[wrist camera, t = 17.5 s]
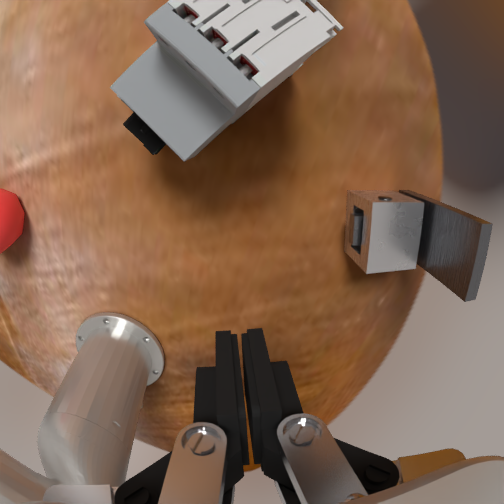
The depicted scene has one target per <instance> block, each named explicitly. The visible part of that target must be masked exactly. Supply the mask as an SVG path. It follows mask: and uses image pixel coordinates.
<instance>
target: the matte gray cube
mask: <svg viewBox="0 0 504 504" xmlns="http://www.w3.org/2000/svg"><path fill="white" fill-rule="evenodd" d="M423 211H424V202H421V201H419V200H416V199H414V198H411V197H409V196H406V195H404V194H401V193H398V192H396V191H380V190H347V209H346V229H345V244H344V251H345V252H346V253H347V254H348V255H349V256H350V257H351V258H352V260H353V261H354V262H355V263H356V264H357V265H358V266H359V267H360V268H361V269H362V270H363V271H364V272H365V273H366V274H369V273H379V272H389V271H399V270H408V269H416V263H417V257H418V250H419V244H420V236H421V229H422V220H423ZM350 213H364V217H363V231H362V243H361V245H352V244H351V243H349V242H348V238H349V223H350Z"/></svg>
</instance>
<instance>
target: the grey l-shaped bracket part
mask: <svg viewBox="0 0 504 504" xmlns="http://www.w3.org/2000/svg"><path fill="white" fill-rule="evenodd" d="M399 193H401V194H404V195H406V196H409V197H411V198H414V199H416V200H419V201H421V202H424V211H423V220H422V229H421V236H420V244H419V250H418V257H417V264H418V265H419V266H420V267H422V268H423V269H424V270H426V271H427V272H428V273H430V274H431V275H432V276H433V277H435V278H436V279H437V280H439V281H440V282H441V283H443V284H444V285H445V286H446V287H447V288H449V289H450V290H451V291H452V292H454V293H455V294H456V295H457V296H458V297H460V298H461V299H462V300H463V301H464V302H466V301H471V300H475V299H476V296H477V292H478V288H479V284H480V281H481V277H482V273H483V269H484V265H485V260H486V256H487V250H488V246H489V240H490V235H491V230H492V223H490V222H488V221H485V220H483V219H481V218H479V217H476V216H474V215H472V214H469V213H467V212H465V211H462V210H460V209H457V208H455V207H452V206H450V205H447V204H445V203H442V202H440V201H437V200H434V199H432V198H429V197H426V196H424V195H421V194H418V193H415V192H413V191H410V190H399ZM363 217H364V213H350V223H349V238H348V242H349V243H351V244H352V245H361V243H362V231H363Z"/></svg>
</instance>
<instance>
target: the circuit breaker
mask: <svg viewBox="0 0 504 504" xmlns="http://www.w3.org/2000/svg"><path fill="white" fill-rule="evenodd" d="M306 1H307V2H308V3H309V4H310V5H311V6H312V7H314V8H315V9H316V11H315V13H313V12H312V11H311V10H310V9H309V8H308V7H307V6H306V5H305V3H306ZM144 23H145V24H146V26H147V27H148V28H149V30H150V31H151V32H152V34H153V35H154V37H155V38H156V39H157V41H156V42H155V43H154V44H153V45H152V46H151V47H150V48H149V49H148V50H147V51H146V52H145V53H143V54H142V55H141V56H140V57H139V58H138V59H137V60H136V61H135V62H134V63H133V64H132V65H131V66H130V67H129V68H128V69H127V70H126V71H125V72H124V73H123V74H122V75H121V76H120V77H119V78H118V79H117V80H116V81H115V82H114V84H113V85H112V86H111V87H110V88H111V89H112V90H113V91H114V92H115V93H116V94H117V96H118V97H119V98H120V99H121V100H122V101H123V102H124V103H125V104H126V105H127V106H128V107H129V108H130V109H131V110H132V111H133V112H134V113H133V114H132V115H131V116H130V117H129V118H128V119H127V120H126V121H125V122H124V123H123V124H124V126H125V127H126V128H127V129H128V130H129V131H130V132H131V133H133V134H134V135H135V136H136V137H137V138H138V139H139V140H140V141H141V142H142V143H143V144H144V146H145V147H146V148H147V149H148V150H149V151H150V152H151V153H152V154H153V155H154V154H157V153H158V152H159V151H160V150H161V149H162V148H163V147H164V146H165V145H166V144H167V145H168V146H169V147H170V148H171V149H172V150H173V151H174V152H175V153H176V154H177V155H178V156H179V157H180V158H181V159H182V160H183V161H186V160H188V159H191V158H193V157H195V156H196V155H197V154H198V153H199V152H200V151H201V150H202V149H203V148H205V147H206V146H207V145H208V144H209V143H210V142H211V141H212V140H213V139H214V138H215V137H216V136H217V135H219V134H220V133H221V132H222V131H223V130H224V129H225V128H226V127H227V126H229V125H230V124H233V123H234V122H235V121H236V120H237V119H239V118H240V117H241V116H242V115H243V114H244V113H245V112H247V111H248V110H249V109H250V108H251V107H253V106H254V105H255V104H256V103H257V102H258V101H260V100H261V99H262V98H263V97H265V96H266V95H267V94H268V93H269V92H271V91H272V90H273V89H274V88H276V87H277V86H278V85H279V84H281V83H282V82H283V81H284V80H285V79H286V78H288V77H290V76H291V75H292V74H293V73H294V72H295V71H296V70H298V69H299V68H300V67H301V66H302V65H303V64H302V63H303V62H304V61H305V60H306V59H308V58H309V57H310V56H311V55H312V54H313V53H314V52H315V51H316V50H318V49H319V48H321V47H322V46H324V45H325V44H326V43H327V42H328V41H329V40H331V39H332V38H333V37H334V36H335V35H336V33H335V32H334V31H333V29H334V27H335V28H336V29H337V30H338V31H340V30H342V29H343V27H342V26H341V25H340V24H339V23H338V22H337V20H336V19H335V18H334V17H333V16H332V15H331V14H330V13H329V12H328V11H327V10H326V9H325V8H324V7H323V6H322V5H321V4H320V3H318V2H317V1H316V0H169V1H168V2H167V3H166V4H164V5H163V6H162V7H160V8H159V9H158V10H157V11H156V12H154V13H153V14H152V15H151V16H149V17H148V18H147V19H146V20H145V21H144Z"/></svg>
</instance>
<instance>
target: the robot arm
mask: <svg viewBox="0 0 504 504" xmlns="http://www.w3.org/2000/svg"><path fill="white" fill-rule="evenodd" d="M241 335H242V353H243V370H244V386H245V396H246V404H247V412H248V420H249V427H250V435H251V442H252V450H253V457H254V464H261V469H262V471H264V475H266V476H268V477H269V478H271V479H273V480H274V481H275V486H276V488H277V491H278V493H279V496H280V498H281V501H282V503H283V504H504V457H501V456H481V457H475V458H469V459H466V458H465V456H464V455H463V453H461V452H460V451H459V450H456V449H453V448H452V449H443V450H439V451H434V452H429V453H423V454H418V455H412V456H406V457H399V458H398V460H394V461H391V460H389V459H387V458H384V457H382V456H378V455H376V454H373V453H371V452H368V451H365V450H363V449H360V448H358V447H355V446H352V445H350V444H348V443H345V442H343V441H340V440H338V439H335V438H333V436H332V435H331V433H330V431H329V430H328V428H327V426H326V425H325V423H324V422H323V421H322V420H321V419H319V418H318V417H316V416H313V415H310V414H303V410H302V407H301V404H300V401H299V398H298V394H297V391H296V388H295V385H294V382H293V378H292V375H291V372H290V369H289V366H288V363H287V361H279V362H270V359H269V355H268V351H267V347H266V342H265V338H264V334H263V330H262V328H258V329H247V333H244V334H241ZM76 347H77V351H78V354H77V356H76V357H75V359H74V361H73V363H72V365H71V366H70V368H69V370H68V372H67V374H66V376H65V377H64V379H63V381H62V383H61V385H60V387H59V389H58V391H57V393H56V395H55V397H54V399H53V401H52V403H51V405H50V407H49V409H48V411H47V413H46V415H45V417H44V419H43V421H42V423H41V425H40V428H39V431H38V450H39V454H40V458H41V462H42V464H43V467H44V470H45V473H46V476H47V478H46V477H44V476H42V475H41V474H39V473H36V472H34V471H33V470H31V469H30V468H28V467H26V466H25V465H23V464H22V463H20V462H19V461H17V460H16V459H14V458H13V457H11V456H10V455H9V454H7V453H6V452H4V451H3V450H1V449H0V504H233V501H234V492H235V484H236V483H237V482H238V481H239V480H240V479H241V478H243V476H244V471H243V465H249V452H248V439H247V425H246V412H245V403H244V395H243V386H242V377H241V368H240V359H239V350H238V341H237V334H231V330H230V331H216V367H197V370H196V384H195V401H194V421H193V424H190V425H188V426H186V427H184V428H183V429H182V430H181V431H180V432H179V433H178V435H177V437H176V441H175V444H174V448H173V451H171V452H170V453H168V454H167V455H165V456H164V457H163V458H161V459H160V460H158V461H157V462H155V463H154V464H152V465H151V466H149V467H148V468H146V469H145V470H143V471H141V472H140V473H138V474H137V475H135V476H134V477H132V478H130V479H129V480H128V481H126V482H125V479H126V474H127V468H128V463H129V458H130V454H131V450H132V445H133V440H134V436H135V431H136V427H137V423H138V418H139V414H140V410H141V408H142V407H143V398H144V394H145V390H146V386H148V385H150V384H152V383H154V382H155V381H156V380H157V379H158V378H159V377H160V375H161V373H162V371H163V367H164V353H163V349H162V347H161V345H160V343H159V341H158V340H157V338H156V337H155V335H154V334H153V333H152V332H151V331H150V330H149V329H148V328H147V327H145V326H144V325H142V324H141V323H140V322H138V321H136V320H134V319H133V318H130V317H128V316H125V315H122V314H118V313H112V312H103V313H97V314H94V315H92V316H90V317H88V318H87V319H85V320H84V322H83V323H82V324H81V326H80V327H79V329H78V331H77V334H76Z"/></svg>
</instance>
